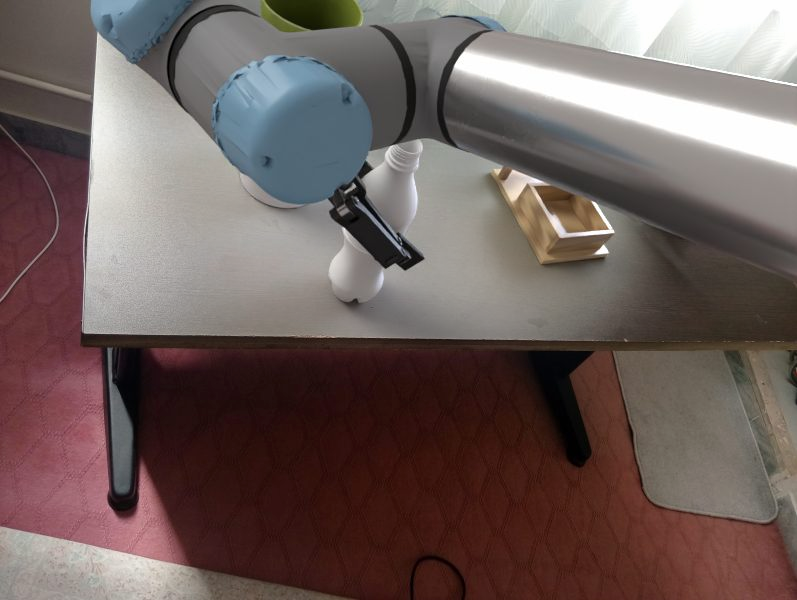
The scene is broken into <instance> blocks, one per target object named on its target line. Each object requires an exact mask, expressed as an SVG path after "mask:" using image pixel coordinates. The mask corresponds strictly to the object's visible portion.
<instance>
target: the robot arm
mask: <svg viewBox="0 0 797 600" xmlns="http://www.w3.org/2000/svg"><path fill="white" fill-rule="evenodd" d="M90 18H91V21H92V24H93V27H94V28H95V30H96V31H97V33H98V34H99V35H100V36H101V37H102V38H103V39H104V40H105V41H106V42H108V43H109V44H110V45H111V46H112V47H113V48H114V49H115V50H117V51H118V52H119V53H121V55H123V56H124V58H125V60H126V61H127V63H129V64H130V65H136V66H137V67H138V68H139V69H140V70H142V71H143V72H144V73H146V75H148V76H150V77H151V78H152V79H153V80H154V81H155V82H157V84H158V85H160V86H161V87H162V88H163V89H164V90H165V91H166V92H167V93H168V94H169V96H170V97H171V98H172V99H173V100H174V101H175V102H176V103H177V104H178V105H179V107H180V108H181V109H182V110H183V111H184V112H185V113H187V114H188V115H189V116H190V117H191V118H192V119H193V120H194V121H195V122H196V123H197V124H198V125H199V127H200V128H201V129H202V130H203V131H204V132H205V133H206V134H207V135H208V137H209V138H210V139H211V140H212V141H213V142H214V144H215V145H216V146H217V147H218V148H219V149H220V152H221V153H222V155H223V156H224V158H225V159H226V160H227V161H228V162H229V163H230V164H231V166H233V167H235V168H236V169H237V170H238V172H239V173H240V172H241V173H242V174H244V175H246V176H248V177H249V178H251V179H252V180H253V181H254V182H255V183H256V184H257V185H258V186H259V187H260V188H261V189H262V190H264V191H265V192H266V193H267V194H269V195H270V196H272V197H273V198H275V199H277V200H279V201H282V202H286V203H290V204H299V205H304V204H306V205H311V204H316V203H320V202H322V201H325V200H328V201H329V203H331V205H332V206H333V207H332V208H331V209H330V210H328V214H329V217H330V219H332V220H333V221H334V222H335V223H337V224H338V225H339V226H341V227H344V228H345V229H346V230H347V231H348V232H349V233H350V234H351V235H352V236H353V237H354V238H355V239H356V240H357V241H358V242H359V243H360V244H361V245H362V246H363V247H364V248H365V249H366V250H367V251H368V252H369V253H370V254H371V255H372V256H373V257H374V260H376V261H378V262H379V263H380V264H381V266H382V267H384V270H386V269H388V268H390V267H392V266H393V265H395V264H396V265H397V266H398V268H401V269H402V270H403V271H404V272H406V271H408V270H409V269H411V268H413V267H415V266H416V265H417V264H419V263H421V262H423V261H424V260H425V255H424V254H423V253H422V252H421V251H420V250H419V249H418V248H417V247H416V246H415V245H414V244H413V243H412V242H411V241H409V240H408V239H407V238H406V237H405V235H404V236H402V235H401V234H400V233H399V232H398V233H395V232H394V231H393V229H392V228H391V227H390V225H389V224H388V223H387V222H386V220H385V219H384V218H383V216H382V215H381V214H380V212H379V211H378V210H377V208H376V207H375V206H374V205H373V203H372V202H371V201H370V199H369V198H368V197H367V195H366V186H365V184H364V183H363V182H362V180H361V179H362V178H363V177H364V176H365V175H366V174H368V173H369V172H370V171H372V170H373V169H375V168H374V167H373V166H372V164H370V163H369V162H368V161H367V159H368V156H369V153H370V152H373V151H377V150H381V149H386V148H389V147H391V146H392V145H396V144H401V143H405V142H409V141H413V140H417V139H419V140H421V139H427V140H428V139H429V140H433V141H437V142H438V143H441V144H444V145H447V146H449V147H452V148H453V149H454V148H455V149H458V150H460V151H463V152H466V153H469V154H473V155H475V156H477V157H480V158H483V159H484V160H487V161H490V162H492V163H495V164H498V165H500V166H502V167H503V166H505V167H507V168H510V169H512V170H515V171H517V172H520V173H522V174H525V175H527V176H530V177H532V178H535V179H537V180H540V181H542V182H545V183H547V184H550V185H552V186H555V187H557V188H560V189H562V190H565V191H567V192H570V193H572V194H575V195H577V196H580V197H582V198H585V199H587V200H590V201H592V202H595V203H596V204H597V205H600V206H602V207H604V208H607V209H610V210H612V211H615V212H616V213H618V214H619V213H620V214H622V215H625V216H627V217H630V218H632V219H634V220H638V221H640V222H642V223H645V224H647V225H649V226H652V227H654V228H656V229H660V230H661V231H664V232H667V233H669V234H672V235H674V236H677V237H680V238H682V239H685V240H687V241H689V242H691V243H694V244H696V245H700V246H702V247H705V248H707V249H709V250H712V251H714V252H716V253H718V254H722V255H725V256H726V257H729V258H732V259H733V260H737V261H740V262H742V263H744V264H747V265H750V266H751V267H754V268H757V269H759V270H762V271H764V272H766V273H770V274H772V275H774V276H777V277H780V278H782V279H784V280H787V281H790V282H791V283H794V284H797V84H794V83H788V82H783V81H778V80H772V79H767V78H761V77H755V76H750V75H745V74H740V73H734V72H729V71H728V72H727V71H724V70H718V69H711V68H706V67H701V66H695V65H690V64H685V63H678V62H675V61H674V62H673V61H668V60H664V59H663V60H662V59H658V58H653V57H647V56H641V55H636V54H635V55H634V54H630V53H624V52H619V51H613V50H608V49H603V48H598V47H591V46H586V45H581V44H575V43H570V42H564V41H558V40H554V39H548V38H542V37H538V36H537V37H536V36H532V35H526V34H521V33H516V32H515V33H514V32H511V31H510V32H509V31H507V30H506V28H504V27H503V26H502V25H501V23H500V22H499V21H497V20H495V19H493V18H490V17H489V16H482V15H467V14H445V15H442V16H440V17H437V18H431V19H421V20H413V21H404V22H396V23H386V24H379V25H378V24H371V25H370V24H369V25H361V26H354V27H344V28H334V29H323V30H313V31H302V32H292V33H287V32H281V31H279V30H278V29H277V28H275V27H274V26H272V25H271V24H270V23H268V22H267V21H266V20H264V19H263V18H261V15H259V14H258V13H256V12H254V11H253V10H252V9H250V8H249V7H247V6H246V5H245V4H243V3H242V2H241V1H240V0H91V1H90ZM353 185H355V187H354V188H353V189H351V188H352V187H353ZM349 189H351V190H349ZM345 192H346V193H345ZM304 206H305V205H304Z"/></svg>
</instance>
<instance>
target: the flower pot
mask: <svg viewBox="0 0 797 600" xmlns="http://www.w3.org/2000/svg"><path fill="white" fill-rule="evenodd" d="M259 3H260V17H261V18H263V19H264V20H266V21H267V22H268V23H270V24H271V25H272V26H274V27H275V28H277V29H278V30H279V31H281V32H287V33H292V32H302V31H313V30H323V29H334V28H344V27H354V26H363V22H364V12H363V10H362V7H361V6H360V3H358V1H357V0H259Z"/></svg>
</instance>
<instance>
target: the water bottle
mask: <svg viewBox="0 0 797 600" xmlns="http://www.w3.org/2000/svg"><path fill="white" fill-rule="evenodd" d="M423 150H424V145H423V143H422V140H421V139H417V140H413V141H409V142H405V143H401V144H396V145H392V146H388V149H387V150H386V151H385V153H384V160H383V162H382V163H380V164H379V165H378V166H376V167H375V168H374V169H373V170H372V171H370V172H369V173H368V174H366V175H365V176H364V177H363V178H362V179H361V180H362V182H363V183H364V184H365V186H366V195H367V197H368V198H369V199H370V201H371V202H372V203H373V205H374V206H375V207H376V208H377V210H378V211H379V212H380V214H381V215H382V216H383V218H384V219H385V220H386V222H387V223H388V224H389V225H390V227H391V228H392V229H393V231H394V232H395V233H398V232H399V233H400V234H401V235H402V236H404V237H405V235H406V233H407V231H408V229H409V226H410V225H411V222H413V220H414V219H415V217H416V214H417V210H418V205H419V204H418V202H419V201H418V190H417V186H416V182H415V177H414V176H415V175H414V174H415V173H416V171H417V170H418V168H419V166H420V157H421V155H422V152H423ZM341 231H342V233H343V239H344V240H343V246H342V248H340V251H338V253H337V254H336V255H335V256H334V257H333V258H332V260H331V262H330V264H329V269H328V281H329V283H330V284H331V289H332V292H333V293H334V295H335V296H336V298H338V299H339V300H340V301H342V302H345V303H351V302H352V301H353V300H355V299H356V301H357V303H358V304H364V303H367V302H368V301H370V300H371V299H373V298H374V297H376V296H377V294H378V293H379V292H380V290H381V289H382V287H383V284H384V277H385V276H384V272H383V271H384V270H385V268H384V267H382V266H381V264H380V263H379V262H378V261H376V260H374V257H373V256H372V255H371V254H370V253H369V252H368V251H367V250H366V249H365V248H364V247H363V246H362V245H361V244H360V243H359V242H358V241H357V240H356V239H355V238H354V237H353V236H352V235H351V234H350V233H349V232H348V231H347V230H346V229H345V228H344V227H343V226H341Z"/></svg>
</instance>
